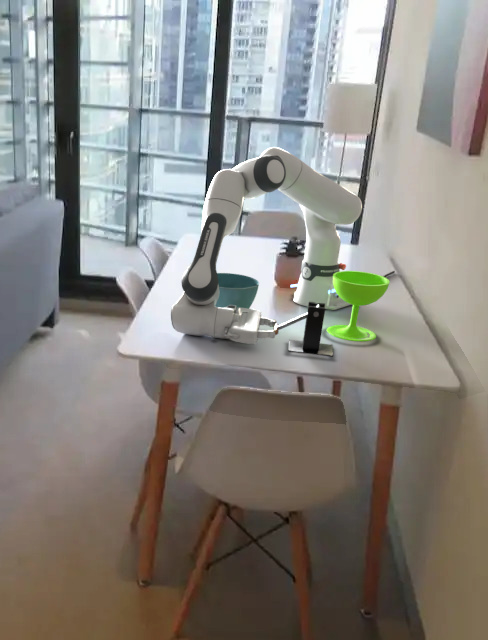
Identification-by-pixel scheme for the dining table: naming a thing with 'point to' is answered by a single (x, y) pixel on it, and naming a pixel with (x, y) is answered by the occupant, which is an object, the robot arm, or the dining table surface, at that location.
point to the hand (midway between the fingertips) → (275, 329)
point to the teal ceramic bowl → (236, 290)
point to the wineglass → (357, 300)
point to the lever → (290, 322)
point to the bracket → (312, 333)
